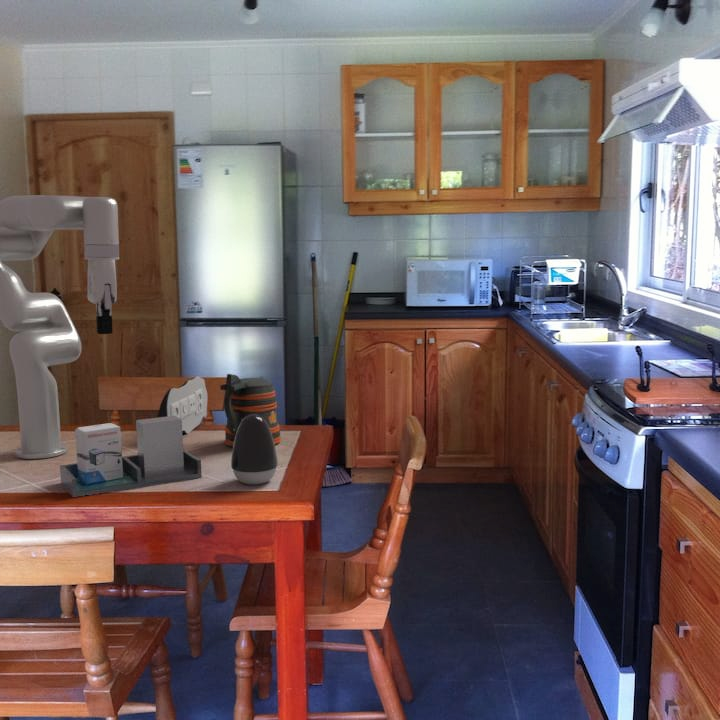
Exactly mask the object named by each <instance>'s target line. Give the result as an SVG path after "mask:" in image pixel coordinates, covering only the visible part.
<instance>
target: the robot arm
mask: <svg viewBox="0 0 720 720" xmlns="http://www.w3.org/2000/svg"><path fill="white" fill-rule="evenodd" d="M118 209H119V207H118V202H117V200H116V199H115V198H113V197H104V196H77V195H45V194H39V195H38V194H37V195H35V194H32V195H31V194H30V195H29V194H28V195H11V196H7V197H5V198H4V199H1V200H0V224H1V225H2V226H3V227H1V226H0V320H1V323H2V325H3V326H4V327H5V328H6V329H8V331H11V332H18V333H16V334H15V335H14V336H12V337H11V340H10V341H9V346H8V347H9V354H10V359H11V362H12V365H13V369H14V376H15V383H16V384H15V385H16V392H17V405H18V406H17V407H18V409H17V410H18V419H19V433H20V434H19V436H20V446H21V447H19V448H17V449H16V450H14V456H15V457H16V458H18V459H26V460H37V459H38V460H39V459H48V458H54V457H57V456H62V455H64V454H66V453H67V452H68V451H69V449H68V447H69V446H68V445H67V444H66V443H62V437H61V436H62V435H61V420H60V418H61V417H60V410H59V409H60V407H59V393H58V392H59V391H58V384H57V381H56V378H55V376H54V375H53V374H52V373H51V371H50V370H49V369H48V368H49V367H51V366H57V365H63V364H70V363H72V362H75V361H76V360H78V359H79V358H80V356H81V353H82V350H83V349H82V341H81V338H80V335H79V332H78V331H77V329H76V327H75V325H74V322H73V320H72V318H71V317H70V315H69V312H68V310H67V308H66V306H65V305H64V303H63V301H62V300H61V299H60V298H59V297H58V296H57V295H56V294H54V293H51V292H30V291H29V290H27V288H26V287H25V285H24V282H23V280H22V279H21V277H20V276H19V275H18V274H17V273H16V272H15V271H14V270H13V269H11V268H10V267H9V266H7V265H6V264H4V263H3V261H4V262H5V261H6V262H7V261H8V262H12V261H14V262H15V261H29V260H30V261H31V260H34V259H36V258H37V257H39V255H40V254H41V252H42V251H43V249H44V247H45V246H46V244H47V242H48V241H49V240H50V238H51V236H52V234H53V232H54V230H58V231H59V230H62V231H63V230H64V231H65V230H67V231H68V230H71V231H72V230H73V231H74V230H79V231H80V230H81V231H83V250H84V251H83V253H84V260H87V300H88V301H89V302H90V303H91V304H95V309H96V310H95V311H96V312H95V313H96V320H95V321H96V322H95V323H96V333H97V334H98V335H111V334H113V316H112V315H113V311H112V310H113V308H112V307H113V306H112V305H113V304H115V303H116V302H117V299H118V298H117V297H118V296H117V295H118V293H117V292H118V289H117V287H118V285H117V284H118V283H117V270H116V269H117V267H116V261H117V260H120V245H119V244H120V241H119V240H120V238H119V236H120V235H119V211H118Z"/></svg>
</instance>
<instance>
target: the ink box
mask: <svg viewBox="0 0 720 720" xmlns="http://www.w3.org/2000/svg"><path fill="white" fill-rule="evenodd" d="M74 431H75V448H76V463H77V466H78V480H79V481H81V482H83V483H85V484H92V483H97V482H103V481H108V480H113V479H119V478H123V466H122V457H123V454H122V453H123V452H122V451H123V450H122V449H123V448H122V435H121V426H119V425H117V424H115V423H110V422H109V423H108V422H107V423H102V424H94V425H93V424H92V425H88V426H79V427H77V428H75V429H74Z"/></svg>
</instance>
